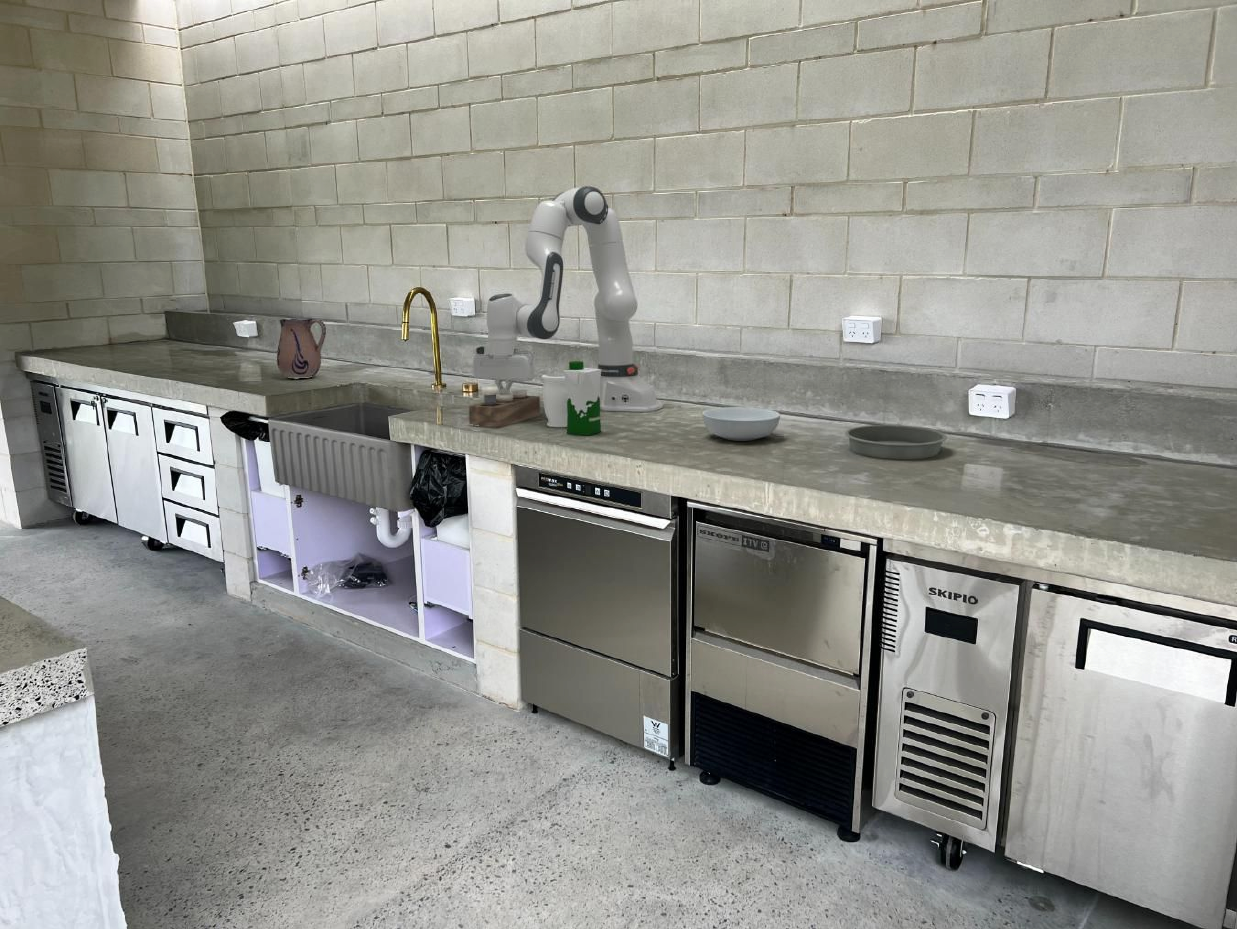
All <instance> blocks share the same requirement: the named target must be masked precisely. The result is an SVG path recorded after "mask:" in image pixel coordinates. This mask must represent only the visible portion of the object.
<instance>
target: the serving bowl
mask: <svg viewBox="0 0 1237 929" xmlns="http://www.w3.org/2000/svg"><path fill="white" fill-rule="evenodd" d="M701 414H702V420H703V423H704V426H705V428H706V429H707V430H708V431H709V432H710V433H711V434H713V435H715V436H717V437H720V438H723V439H725V440H728V441H737V442H743V441H744V442H747V441H754V440H757V439H761V438H764V437H768V436H769V435H771V434H772V433H773V432H774V431H775V430H776V429H777V427H778V426H779V422H780V418H781V414H780V412H777V411H775V410H772V409H766V408H760V407H759V408H758V407H746V406H745V407H744V406H736V407H735V406H731V407H730V406H729V407H716V408H712V409H711V408H710V409H706V410H704V411H703V412H702V413H701Z"/></svg>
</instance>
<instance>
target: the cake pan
mask: <svg viewBox="0 0 1237 929" xmlns="http://www.w3.org/2000/svg"><path fill="white" fill-rule="evenodd" d="M844 435H845V436H846V437H847V438H848V439H849V446H850V449H851V451H852V452H854V453H856V454H859V455H862V456H866V457H871V458H872V457H873V458H878V459H891V460H893V459H894V460H915V459H918V460H919V459H925V458H927V459H928V458H931V457H932V458H933V457H934V456H938V454H939V453H940V450H941V447H942V445H943V442H945V441H946V440H947V439H948V436H947V435H946V434H945V433H944V432H941V431H938V430H934V429H932V428H931V429H930V428H926V427H920V426H911V425H910V426H909V425H901V424H900V425H899V424H898V425H895V424H893V425H892V424H876V425H862V426H856V427H852V428H849V429H847V430H846V431H845V432H844Z"/></svg>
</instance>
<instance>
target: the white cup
mask: <svg viewBox="0 0 1237 929" xmlns="http://www.w3.org/2000/svg"><path fill="white" fill-rule="evenodd" d="M541 379H542V381H543V385H542V392H541V393H542V394H541V395H542V396H541V397H542V403H543V406H544V413H545V417H546V418H547V419H548V421H547V423H546V426H547V427H550V428H567V385H566V380H565V375H564V372H562V373H561V372H560V373H559V372H558V373H555V372H554V373H547V374H543V375H541Z"/></svg>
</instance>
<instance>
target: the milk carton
mask: <svg viewBox="0 0 1237 929" xmlns="http://www.w3.org/2000/svg"><path fill="white" fill-rule="evenodd" d="M563 373H564V375H565V380H566V385H567V427H566V435H575V436H585V437H588V436H592V435H594V434H595V435H596V434H598V433H601V432H602V423H601V409H600V377H601V369H598V368H594V367H584V361H582V360H581V361H580V360H579V361H578V360H574V361H573V360H572V361H569V363H568V369H565V370H563Z"/></svg>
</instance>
